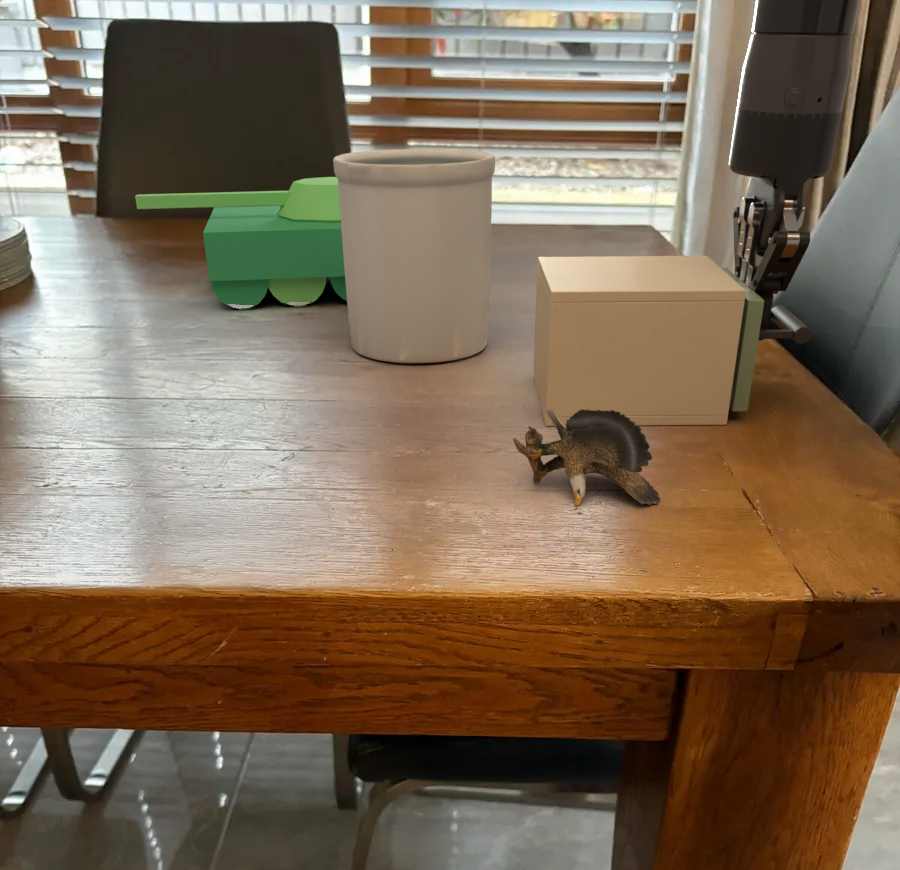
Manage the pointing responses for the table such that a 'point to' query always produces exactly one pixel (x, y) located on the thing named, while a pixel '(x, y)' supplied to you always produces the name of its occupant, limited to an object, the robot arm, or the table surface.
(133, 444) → the table surface
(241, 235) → the toy tank
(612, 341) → the cabinet
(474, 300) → the utensil holder
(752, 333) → the drawer
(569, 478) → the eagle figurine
